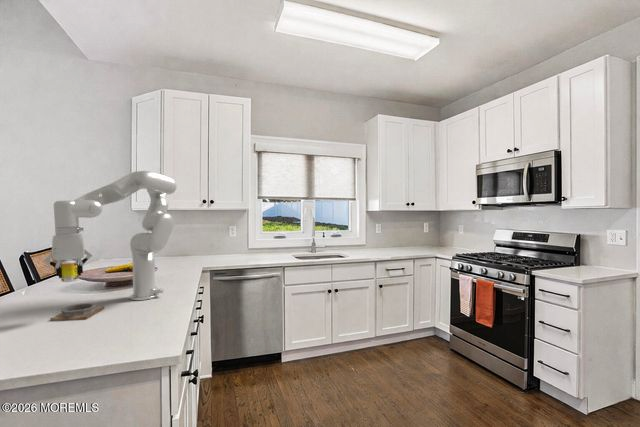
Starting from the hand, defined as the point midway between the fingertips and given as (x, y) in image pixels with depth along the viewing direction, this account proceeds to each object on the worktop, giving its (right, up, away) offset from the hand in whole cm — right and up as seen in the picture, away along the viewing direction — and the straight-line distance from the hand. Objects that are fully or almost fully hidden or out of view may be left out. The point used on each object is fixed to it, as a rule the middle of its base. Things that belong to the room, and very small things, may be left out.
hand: (70, 275), depth 129 cm
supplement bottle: (0, -2, 0) cm, 2 cm away
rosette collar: (+1, -17, +3) cm, 17 cm away
